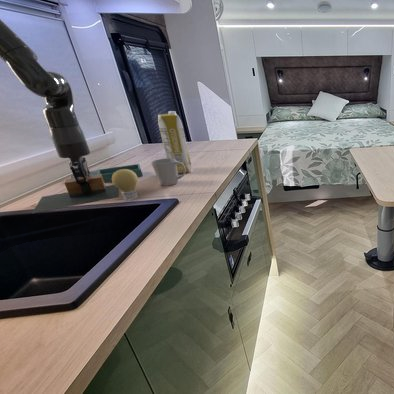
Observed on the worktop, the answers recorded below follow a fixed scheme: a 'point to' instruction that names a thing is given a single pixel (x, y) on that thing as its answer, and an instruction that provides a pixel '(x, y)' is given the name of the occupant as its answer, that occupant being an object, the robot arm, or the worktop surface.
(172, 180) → the cup
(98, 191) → the eraser
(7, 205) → the worktop surface
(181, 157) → the juice carton
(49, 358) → the worktop surface
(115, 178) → the light bulb
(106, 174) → the tray
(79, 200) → the slate board
